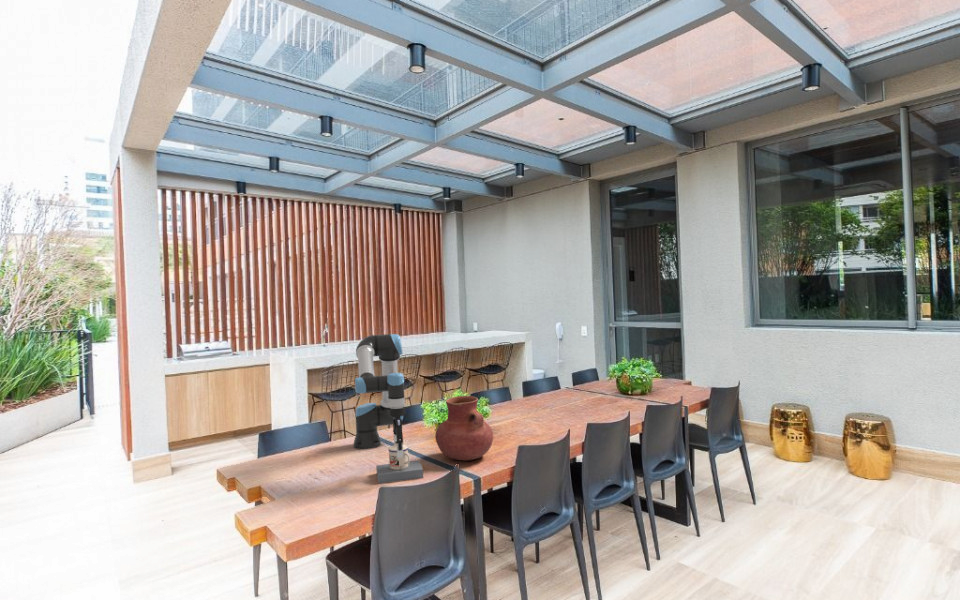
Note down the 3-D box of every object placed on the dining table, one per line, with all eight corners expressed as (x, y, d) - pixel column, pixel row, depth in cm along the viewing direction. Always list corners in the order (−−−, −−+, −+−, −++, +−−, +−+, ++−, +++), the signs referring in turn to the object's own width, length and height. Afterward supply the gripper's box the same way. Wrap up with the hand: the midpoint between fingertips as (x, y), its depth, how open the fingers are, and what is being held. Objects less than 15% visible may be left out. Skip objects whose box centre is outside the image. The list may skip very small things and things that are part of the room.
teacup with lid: (385, 468, 231) (383, 442, 231) (399, 462, 238) (398, 438, 238) (402, 472, 224) (401, 446, 224) (417, 467, 231) (416, 441, 231)
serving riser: (376, 473, 236) (376, 465, 236) (419, 468, 241) (418, 460, 241) (378, 484, 222) (378, 475, 222) (423, 478, 227) (423, 469, 227)
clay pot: (425, 458, 257) (422, 399, 257) (469, 445, 276) (466, 391, 276) (461, 471, 234) (458, 407, 235) (506, 456, 254) (503, 397, 254)
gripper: (386, 402, 243) (388, 446, 243) (391, 413, 219) (393, 461, 219) (401, 401, 245) (403, 444, 245) (408, 411, 221) (410, 459, 221)
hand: (398, 452), depth 232 cm, fingers open, 13 cm apart
